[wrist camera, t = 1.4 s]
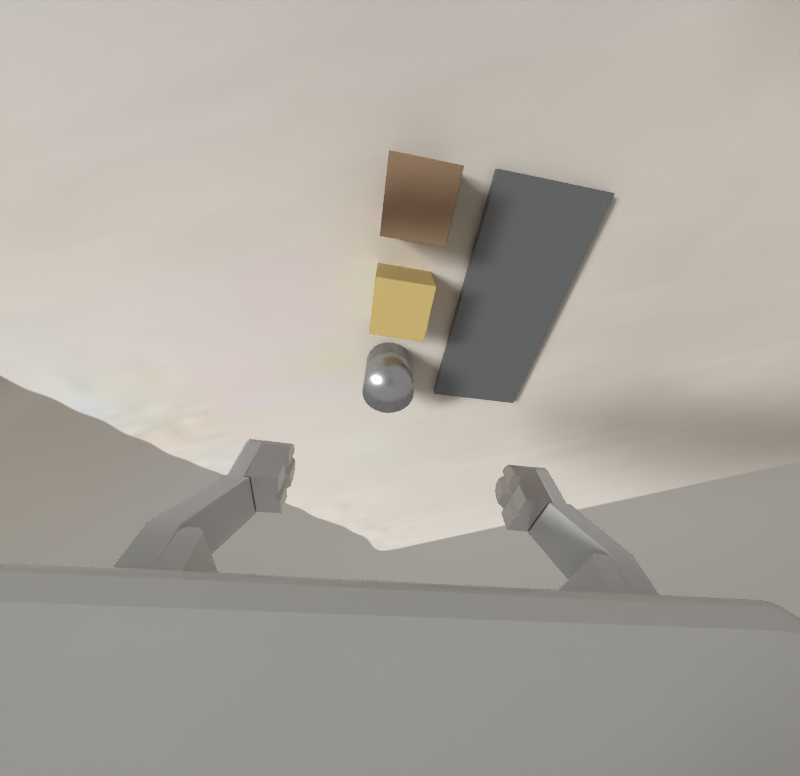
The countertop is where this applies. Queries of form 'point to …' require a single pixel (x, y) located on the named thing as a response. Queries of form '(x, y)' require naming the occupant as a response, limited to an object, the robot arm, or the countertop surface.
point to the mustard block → (401, 302)
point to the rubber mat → (516, 281)
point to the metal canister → (388, 378)
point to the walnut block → (419, 198)
